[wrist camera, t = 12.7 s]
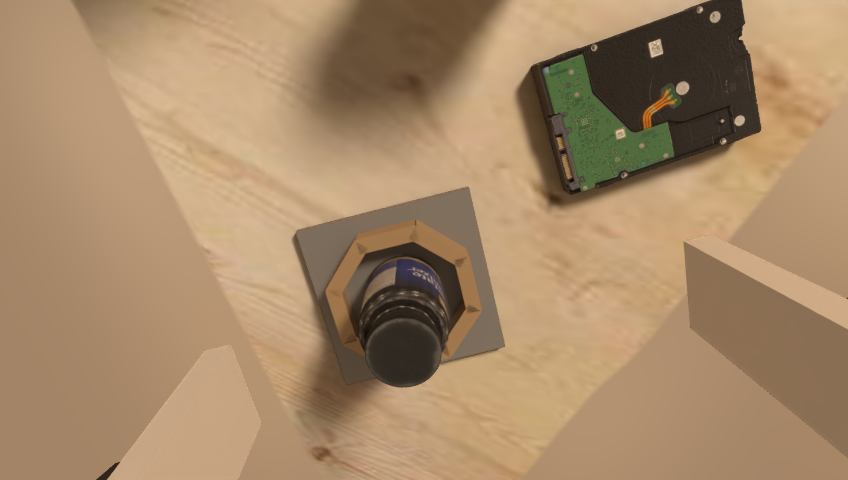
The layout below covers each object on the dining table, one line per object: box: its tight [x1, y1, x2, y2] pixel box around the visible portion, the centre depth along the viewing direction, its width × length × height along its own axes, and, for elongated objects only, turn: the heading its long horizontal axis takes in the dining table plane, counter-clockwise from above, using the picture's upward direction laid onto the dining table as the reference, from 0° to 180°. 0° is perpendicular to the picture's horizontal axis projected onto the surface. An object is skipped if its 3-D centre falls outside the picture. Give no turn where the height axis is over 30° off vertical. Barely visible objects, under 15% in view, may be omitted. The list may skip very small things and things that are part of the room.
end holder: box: [296, 187, 505, 385], centre depth 40 cm, size 14×14×3 cm
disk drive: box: [531, 0, 761, 195], centre depth 37 cm, size 10×3×15 cm
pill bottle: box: [358, 255, 449, 387], centre depth 35 cm, size 6×6×11 cm
